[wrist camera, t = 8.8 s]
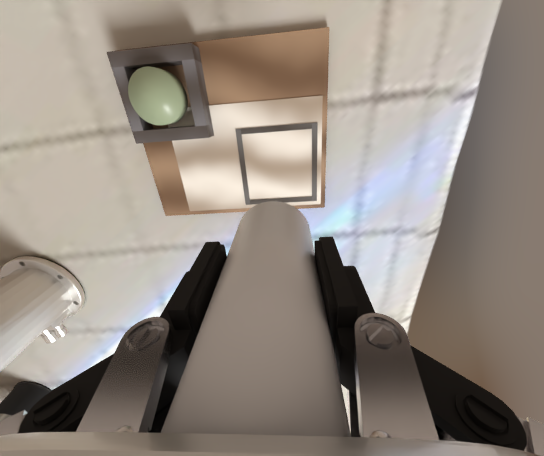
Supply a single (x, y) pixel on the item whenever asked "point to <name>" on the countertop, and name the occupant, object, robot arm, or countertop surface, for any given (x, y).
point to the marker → (264, 340)
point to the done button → (157, 96)
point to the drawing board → (237, 121)
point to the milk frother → (22, 399)
